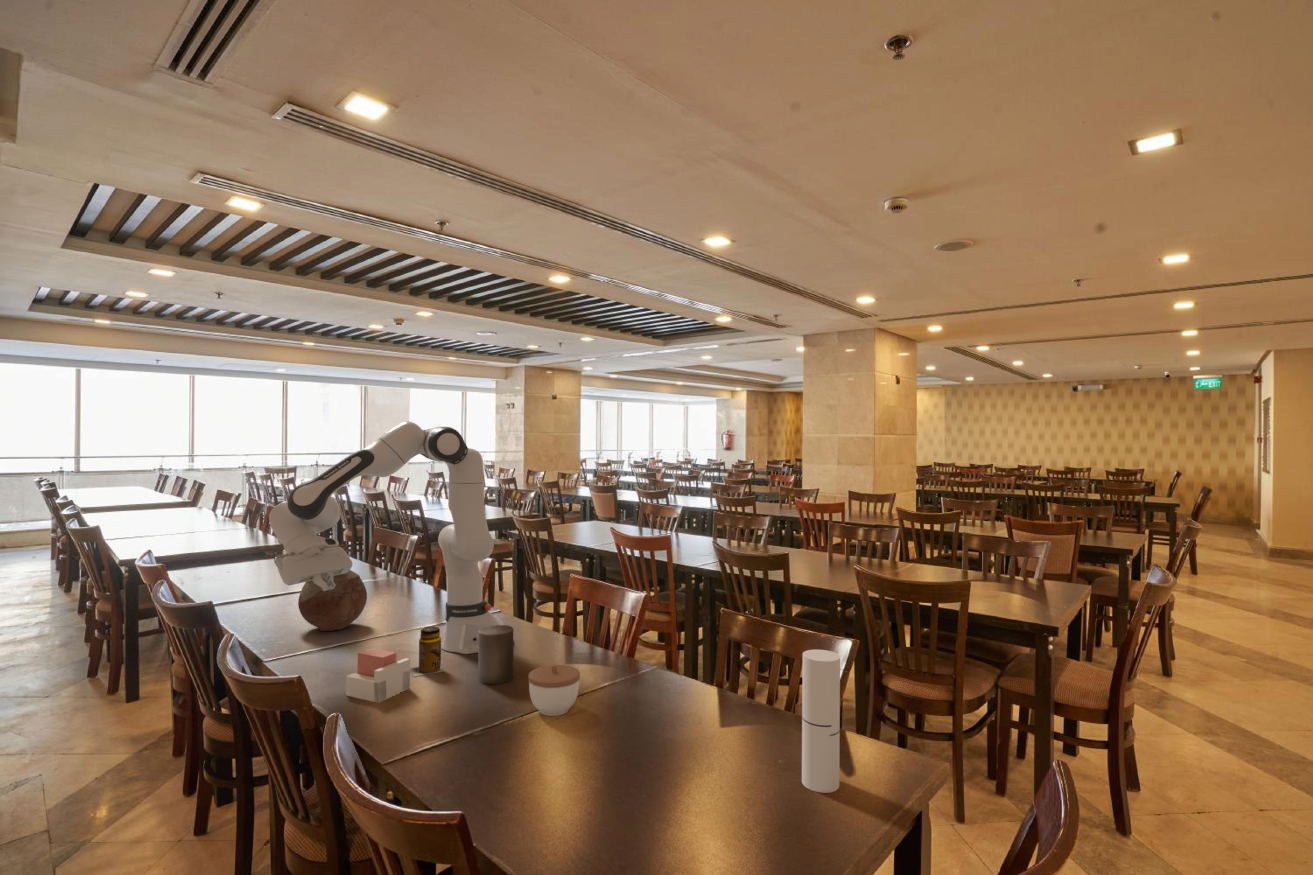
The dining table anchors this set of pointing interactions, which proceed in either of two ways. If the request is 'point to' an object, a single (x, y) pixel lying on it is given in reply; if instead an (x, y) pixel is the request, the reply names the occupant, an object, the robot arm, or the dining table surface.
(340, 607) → the jug
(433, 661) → the condiment
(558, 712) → the white lidded jar
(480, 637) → the pillar candle
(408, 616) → the dining table surface
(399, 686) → the dock
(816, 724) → the cylindrical container
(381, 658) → the plug
